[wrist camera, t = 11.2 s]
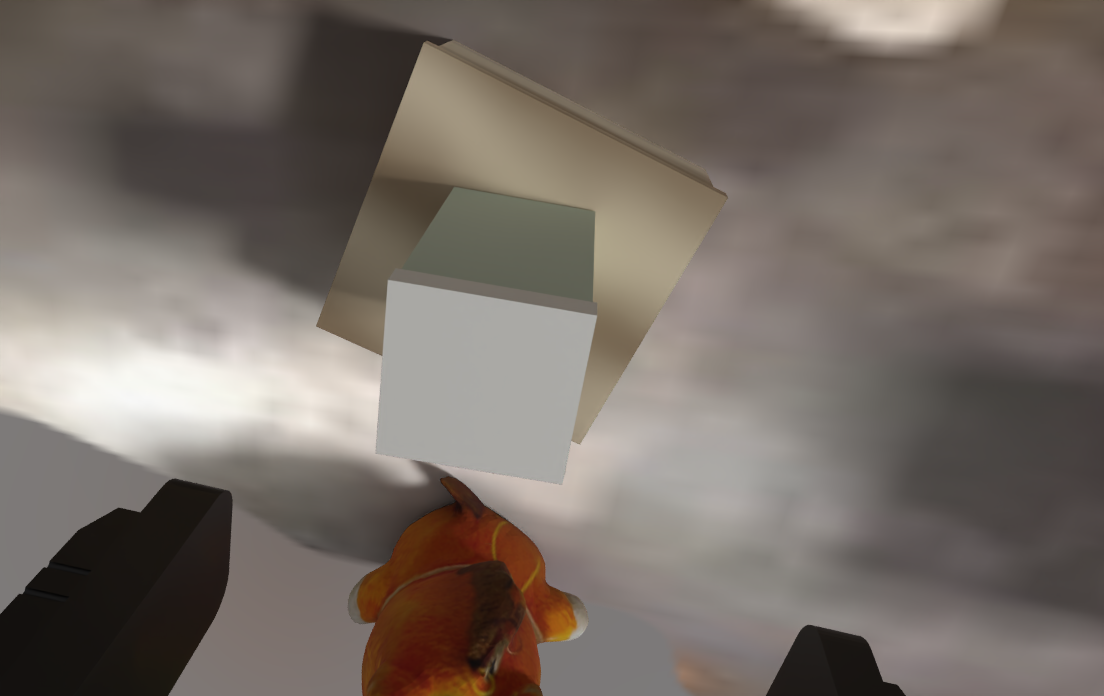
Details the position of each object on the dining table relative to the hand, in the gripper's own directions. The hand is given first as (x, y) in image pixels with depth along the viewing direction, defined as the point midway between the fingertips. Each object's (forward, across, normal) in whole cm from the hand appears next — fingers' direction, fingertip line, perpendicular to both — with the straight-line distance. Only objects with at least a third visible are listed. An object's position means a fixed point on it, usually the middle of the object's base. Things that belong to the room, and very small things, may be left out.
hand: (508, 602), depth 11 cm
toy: (+23, 0, +19) cm, 30 cm away
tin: (+19, +2, +2) cm, 19 cm away
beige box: (+24, +2, +3) cm, 24 cm away
